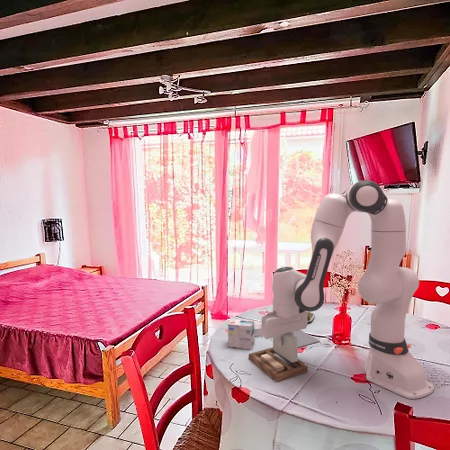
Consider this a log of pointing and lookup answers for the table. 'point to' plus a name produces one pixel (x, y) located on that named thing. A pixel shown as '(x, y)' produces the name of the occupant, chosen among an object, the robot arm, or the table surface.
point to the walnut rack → (287, 369)
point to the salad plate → (310, 317)
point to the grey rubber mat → (304, 339)
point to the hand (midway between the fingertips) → (284, 343)
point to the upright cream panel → (287, 347)
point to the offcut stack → (272, 363)
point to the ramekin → (257, 328)
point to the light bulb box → (241, 334)
